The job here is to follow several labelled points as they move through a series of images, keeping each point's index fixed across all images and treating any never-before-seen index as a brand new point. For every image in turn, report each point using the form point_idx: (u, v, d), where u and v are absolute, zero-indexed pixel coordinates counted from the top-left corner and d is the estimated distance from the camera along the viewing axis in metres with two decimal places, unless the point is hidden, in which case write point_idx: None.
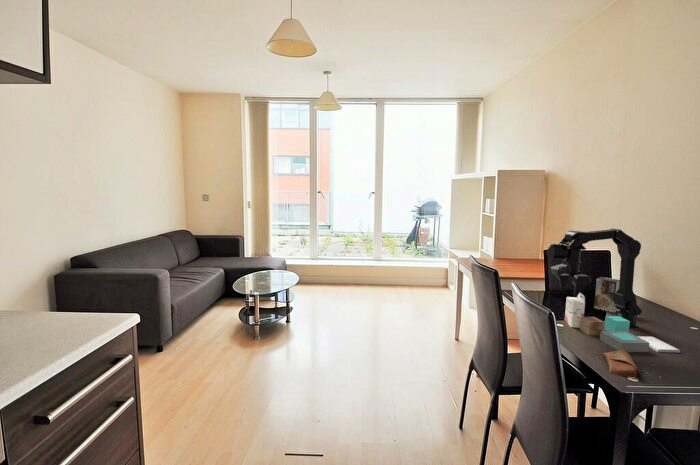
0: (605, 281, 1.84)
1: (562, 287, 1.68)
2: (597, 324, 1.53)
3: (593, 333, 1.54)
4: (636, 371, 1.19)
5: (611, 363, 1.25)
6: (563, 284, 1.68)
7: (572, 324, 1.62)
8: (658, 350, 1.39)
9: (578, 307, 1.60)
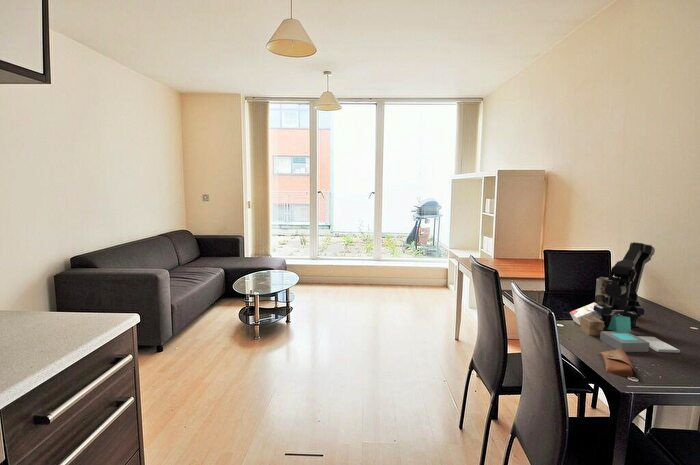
0: (605, 281, 1.84)
1: None
2: (597, 324, 1.53)
3: (593, 333, 1.54)
4: (632, 370, 1.19)
5: (607, 363, 1.26)
6: None
7: (580, 317, 1.62)
8: (658, 350, 1.39)
9: None
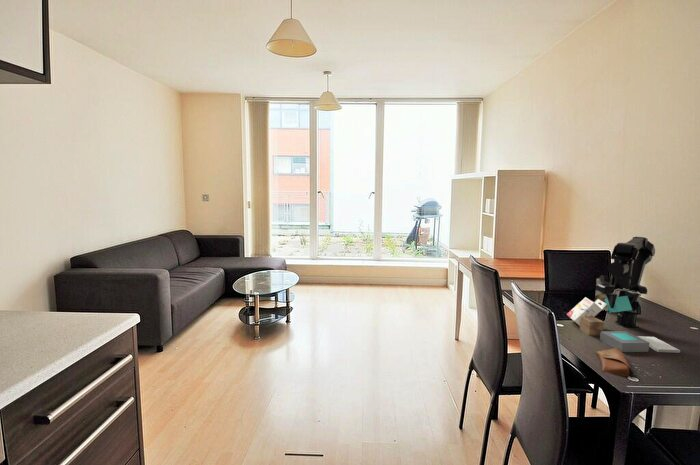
0: None
1: None
2: (597, 324, 1.53)
3: (593, 333, 1.54)
4: (629, 369, 1.20)
5: (604, 362, 1.26)
6: None
7: (577, 319, 1.62)
8: (658, 350, 1.39)
9: (594, 309, 1.60)
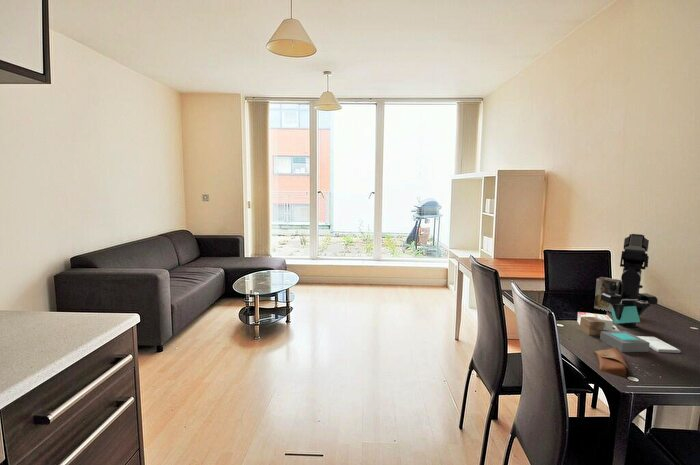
0: (605, 281, 1.84)
1: None
2: (597, 324, 1.53)
3: (593, 333, 1.54)
4: (625, 369, 1.20)
5: (601, 361, 1.27)
6: None
7: None
8: (658, 350, 1.39)
9: (607, 325, 1.58)
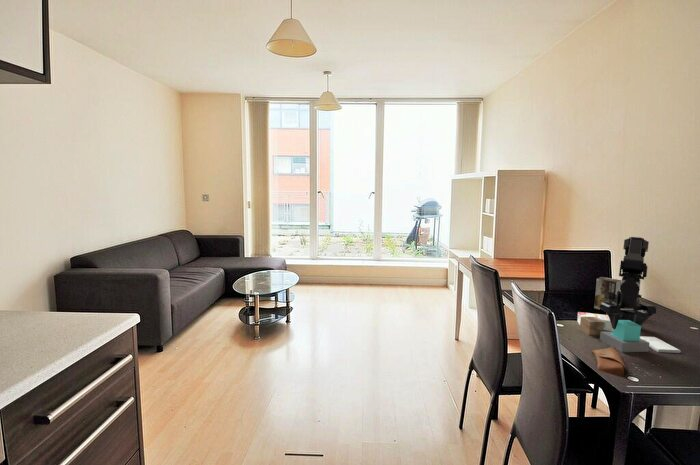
0: (605, 281, 1.84)
1: None
2: (597, 324, 1.53)
3: (593, 333, 1.54)
4: (623, 368, 1.21)
5: (599, 361, 1.27)
6: (637, 322, 1.43)
7: None
8: (658, 350, 1.39)
9: (607, 325, 1.58)
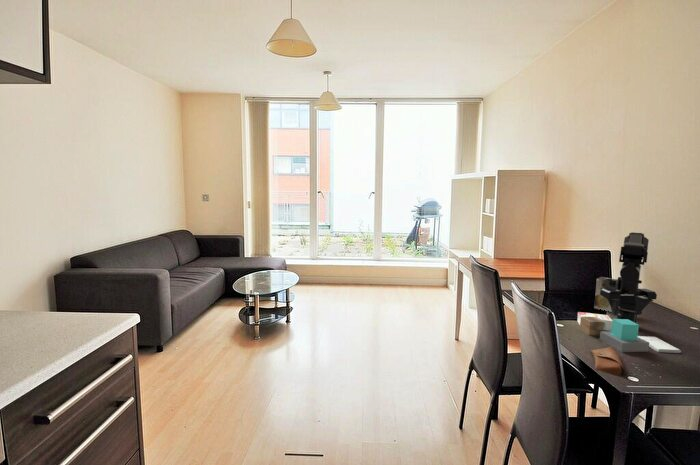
0: None
1: (636, 311, 1.44)
2: (597, 324, 1.53)
3: (593, 333, 1.54)
4: (621, 368, 1.21)
5: (597, 360, 1.28)
6: (637, 308, 1.43)
7: None
8: (659, 350, 1.39)
9: (607, 325, 1.58)
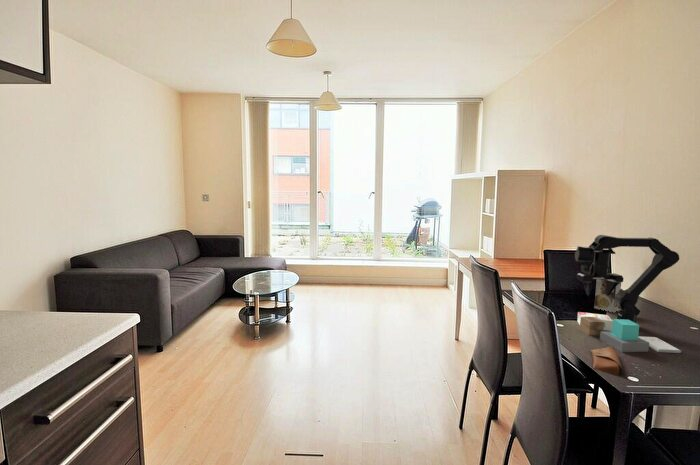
0: (605, 281, 1.84)
1: (606, 292, 1.69)
2: (597, 324, 1.53)
3: (593, 333, 1.54)
4: (619, 367, 1.21)
5: (595, 360, 1.28)
6: (607, 289, 1.68)
7: None
8: (659, 350, 1.39)
9: (607, 325, 1.58)
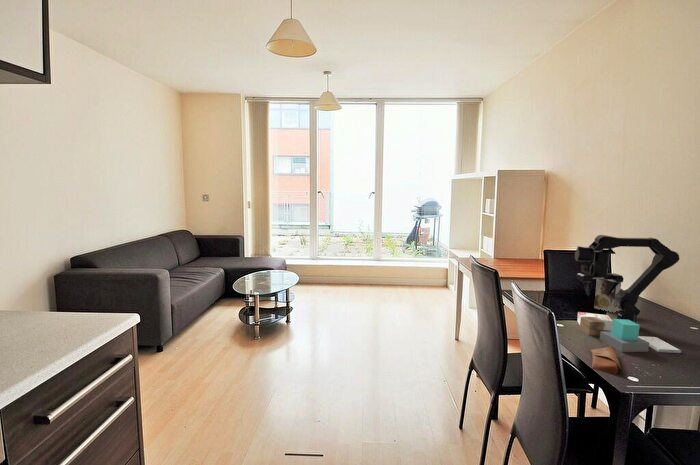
0: (605, 281, 1.84)
1: (606, 292, 1.69)
2: (597, 324, 1.53)
3: (593, 333, 1.54)
4: (617, 367, 1.21)
5: (594, 359, 1.28)
6: (607, 289, 1.68)
7: None
8: (659, 350, 1.39)
9: (607, 325, 1.58)
